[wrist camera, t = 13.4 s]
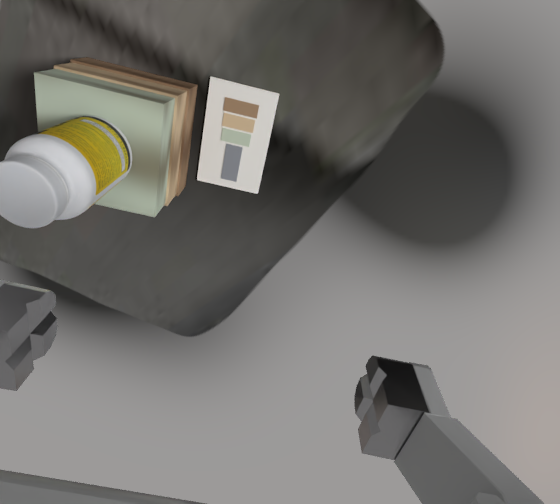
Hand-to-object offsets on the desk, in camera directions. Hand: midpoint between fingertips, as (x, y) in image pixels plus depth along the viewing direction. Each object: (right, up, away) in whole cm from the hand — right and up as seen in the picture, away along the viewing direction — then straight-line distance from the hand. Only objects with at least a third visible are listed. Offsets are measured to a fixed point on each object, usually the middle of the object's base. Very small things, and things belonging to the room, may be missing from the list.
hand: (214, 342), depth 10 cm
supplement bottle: (-12, +10, +20) cm, 26 cm away
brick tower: (-12, +14, +28) cm, 34 cm away
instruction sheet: (-3, +13, +28) cm, 31 cm away
